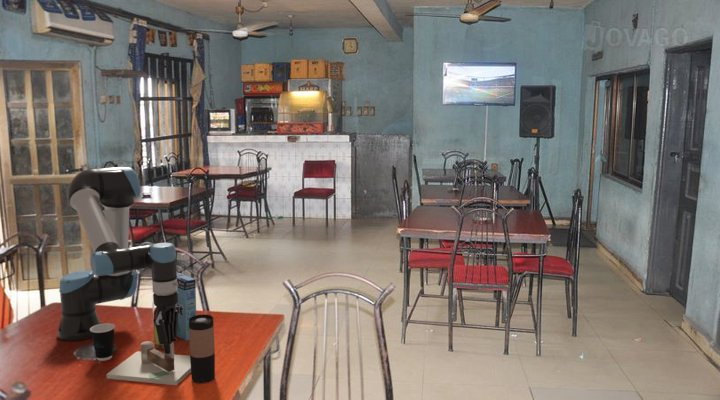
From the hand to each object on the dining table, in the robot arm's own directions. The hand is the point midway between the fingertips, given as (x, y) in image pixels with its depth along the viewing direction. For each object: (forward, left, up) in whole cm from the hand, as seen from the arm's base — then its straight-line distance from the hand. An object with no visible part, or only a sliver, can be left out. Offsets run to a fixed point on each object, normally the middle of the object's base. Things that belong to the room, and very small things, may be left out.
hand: (169, 361), depth 192 cm
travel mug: (+12, -2, -4) cm, 13 cm away
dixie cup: (-28, +6, -4) cm, 29 cm away
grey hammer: (-4, 0, -2) cm, 5 cm away
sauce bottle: (-13, +19, -4) cm, 24 cm away
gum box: (-14, +32, -4) cm, 35 cm away
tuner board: (-6, +1, -4) cm, 7 cm away
